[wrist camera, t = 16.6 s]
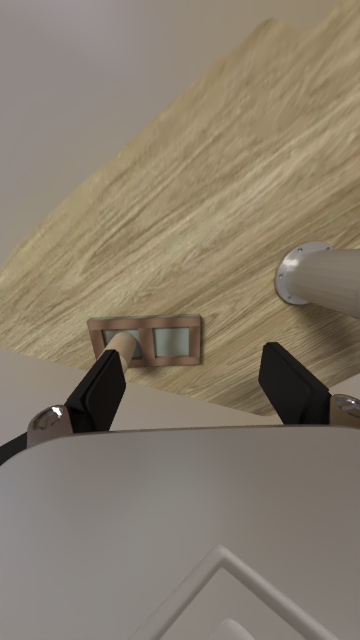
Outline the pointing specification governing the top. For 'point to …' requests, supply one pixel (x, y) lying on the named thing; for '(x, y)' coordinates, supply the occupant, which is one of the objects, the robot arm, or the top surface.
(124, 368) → the candle
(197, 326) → the divided tray
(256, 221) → the top surface
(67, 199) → the top surface
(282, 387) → the robot arm
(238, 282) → the top surface
